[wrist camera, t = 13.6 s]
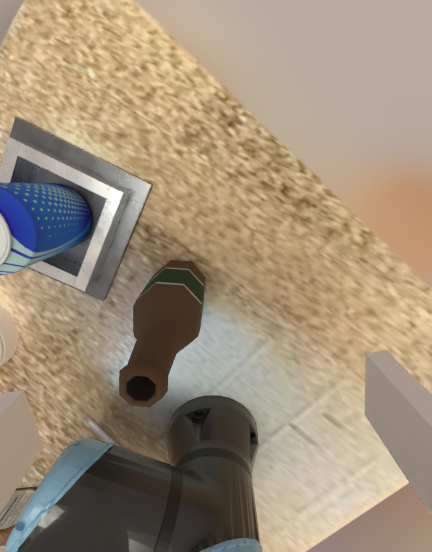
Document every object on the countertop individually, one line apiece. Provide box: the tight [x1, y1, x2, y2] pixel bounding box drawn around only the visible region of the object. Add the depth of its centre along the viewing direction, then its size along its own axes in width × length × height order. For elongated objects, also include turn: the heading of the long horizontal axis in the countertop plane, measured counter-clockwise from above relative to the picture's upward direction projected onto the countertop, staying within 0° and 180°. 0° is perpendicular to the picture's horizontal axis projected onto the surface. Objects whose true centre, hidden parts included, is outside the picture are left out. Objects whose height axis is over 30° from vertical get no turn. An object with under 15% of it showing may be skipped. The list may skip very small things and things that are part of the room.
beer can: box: [0, 183, 90, 275], centre depth 33 cm, size 8×8×16 cm
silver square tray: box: [0, 117, 152, 301], centre depth 40 cm, size 18×18×4 cm
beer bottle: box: [119, 261, 205, 407], centre depth 33 cm, size 8×8×24 cm
